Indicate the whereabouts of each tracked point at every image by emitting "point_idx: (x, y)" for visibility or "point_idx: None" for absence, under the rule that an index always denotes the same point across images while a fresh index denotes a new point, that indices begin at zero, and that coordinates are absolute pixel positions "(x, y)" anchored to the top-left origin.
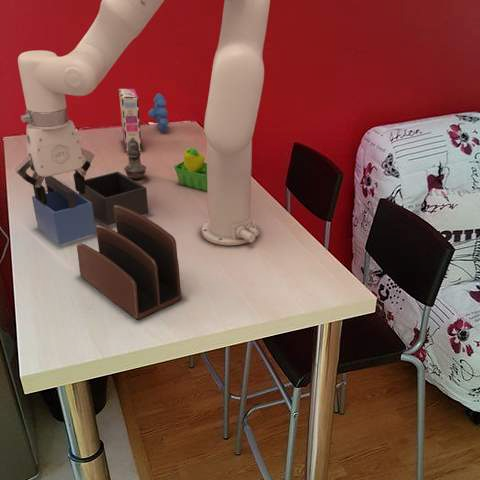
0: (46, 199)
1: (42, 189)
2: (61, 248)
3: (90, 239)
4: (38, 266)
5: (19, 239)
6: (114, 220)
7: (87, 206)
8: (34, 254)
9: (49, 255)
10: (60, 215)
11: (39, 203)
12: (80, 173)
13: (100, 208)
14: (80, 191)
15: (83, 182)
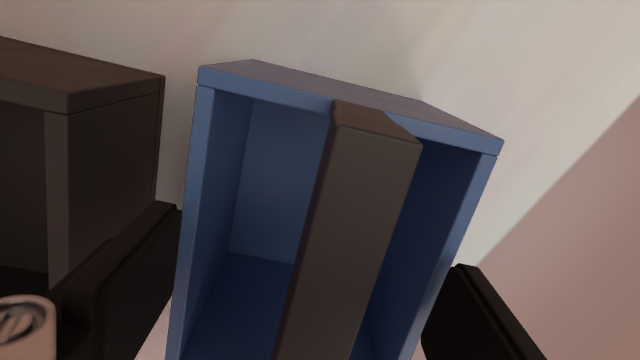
0: (465, 283)
1: (536, 356)
2: (427, 87)
3: (294, 50)
4: (596, 33)
5: None
6: (112, 68)
7: (245, 73)
8: (520, 133)
9: (499, 76)
10: (450, 123)
11: (421, 325)
12: (44, 341)
13: (120, 147)
14: (175, 233)
15: (105, 248)
